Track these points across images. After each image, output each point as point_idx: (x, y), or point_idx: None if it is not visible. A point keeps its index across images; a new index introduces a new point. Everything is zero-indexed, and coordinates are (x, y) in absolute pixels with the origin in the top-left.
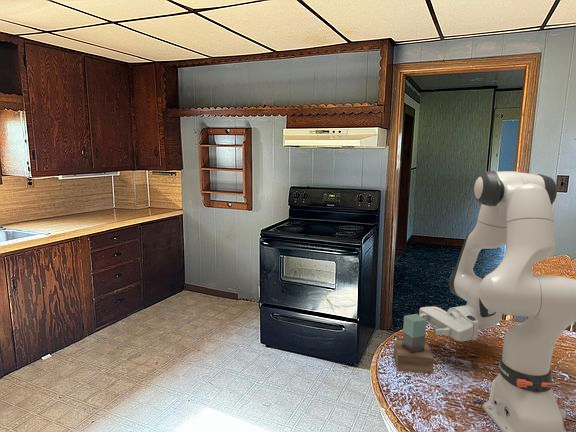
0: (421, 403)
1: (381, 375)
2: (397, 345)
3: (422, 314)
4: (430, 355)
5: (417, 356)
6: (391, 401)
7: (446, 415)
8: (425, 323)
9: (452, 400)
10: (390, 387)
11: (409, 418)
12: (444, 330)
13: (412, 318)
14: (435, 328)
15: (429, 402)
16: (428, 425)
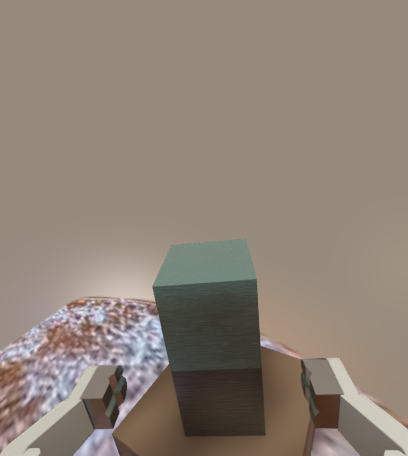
0: (79, 343)
1: None
2: (267, 354)
3: (404, 441)
4: (139, 437)
5: (167, 376)
6: (127, 305)
7: (14, 365)
8: (158, 305)
9: (7, 421)
10: (158, 319)
11: (79, 309)
12: (41, 425)
13: (204, 250)
14: (109, 369)
15: (65, 359)
16: (43, 324)
